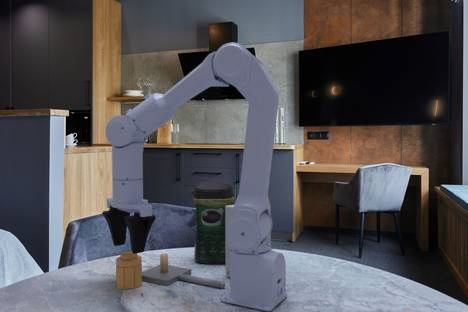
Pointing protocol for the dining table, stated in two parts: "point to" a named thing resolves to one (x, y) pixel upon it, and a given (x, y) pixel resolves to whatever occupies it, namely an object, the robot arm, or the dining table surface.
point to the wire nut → (128, 270)
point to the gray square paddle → (174, 275)
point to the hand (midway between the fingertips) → (128, 248)
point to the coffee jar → (211, 220)
